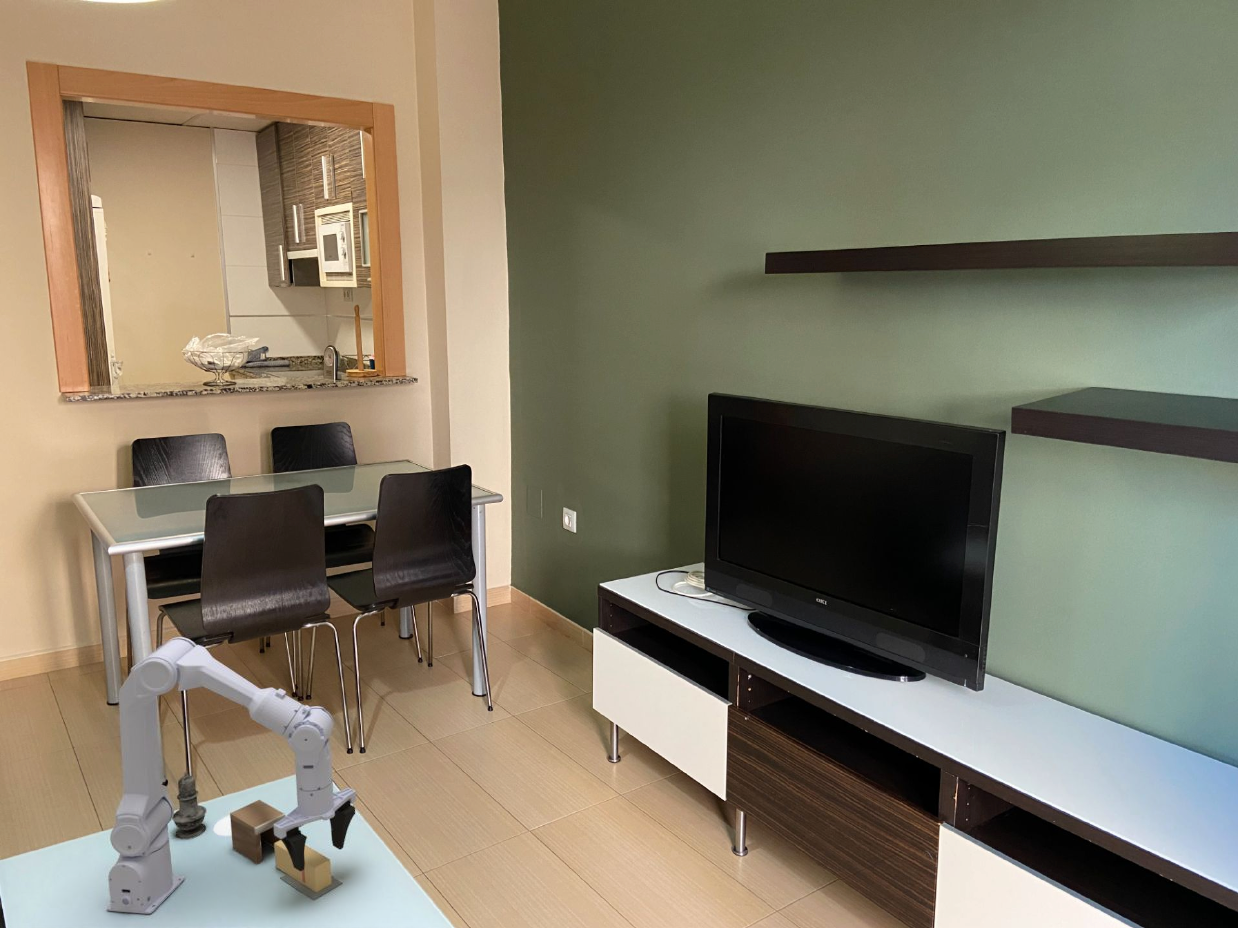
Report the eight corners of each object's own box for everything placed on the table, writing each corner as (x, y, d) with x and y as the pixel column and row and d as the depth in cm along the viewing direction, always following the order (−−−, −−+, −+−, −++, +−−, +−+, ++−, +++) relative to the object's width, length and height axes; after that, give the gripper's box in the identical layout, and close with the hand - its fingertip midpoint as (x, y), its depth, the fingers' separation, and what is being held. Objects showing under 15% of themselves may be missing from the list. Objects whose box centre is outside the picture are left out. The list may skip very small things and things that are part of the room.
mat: (313, 900, 149) (313, 898, 149) (280, 878, 154) (280, 877, 154) (342, 883, 153) (342, 882, 153) (308, 862, 159) (308, 861, 159)
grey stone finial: (213, 830, 169) (208, 771, 167) (180, 843, 165) (175, 783, 163) (200, 818, 173) (195, 761, 171) (168, 831, 169) (163, 772, 167)
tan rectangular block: (316, 892, 150) (314, 867, 150) (275, 866, 157) (273, 843, 157) (331, 883, 153) (330, 859, 152) (291, 858, 160) (289, 835, 159)
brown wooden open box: (258, 865, 158) (255, 828, 157) (232, 848, 163) (229, 813, 162) (287, 849, 163) (285, 814, 162) (262, 834, 168) (259, 799, 167)
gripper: (289, 808, 141) (294, 887, 143) (365, 772, 152) (369, 845, 154) (264, 794, 145) (269, 871, 147) (340, 760, 157) (344, 831, 159)
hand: (318, 857), depth 151 cm, fingers open, 7 cm apart
